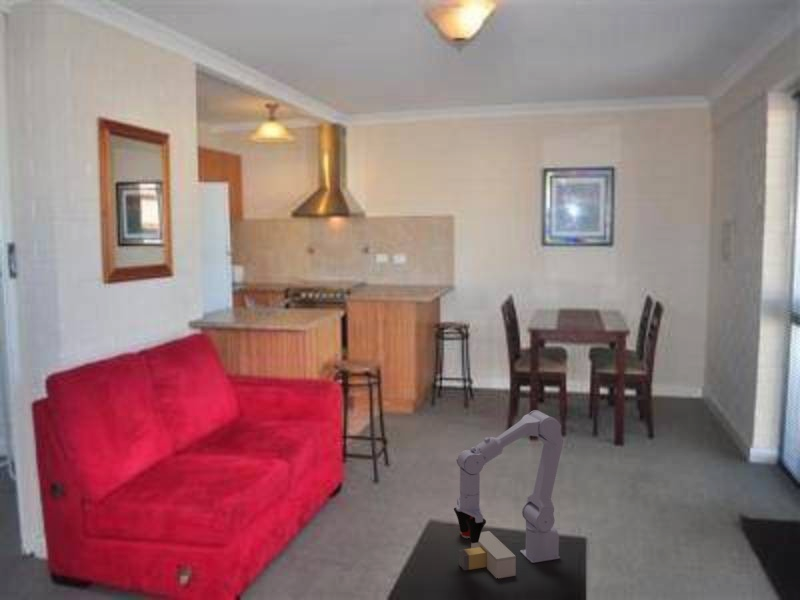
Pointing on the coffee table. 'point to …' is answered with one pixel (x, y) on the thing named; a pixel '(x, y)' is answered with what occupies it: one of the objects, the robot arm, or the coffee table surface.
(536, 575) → the coffee table surface
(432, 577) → the coffee table surface
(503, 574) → the socket block
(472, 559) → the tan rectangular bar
